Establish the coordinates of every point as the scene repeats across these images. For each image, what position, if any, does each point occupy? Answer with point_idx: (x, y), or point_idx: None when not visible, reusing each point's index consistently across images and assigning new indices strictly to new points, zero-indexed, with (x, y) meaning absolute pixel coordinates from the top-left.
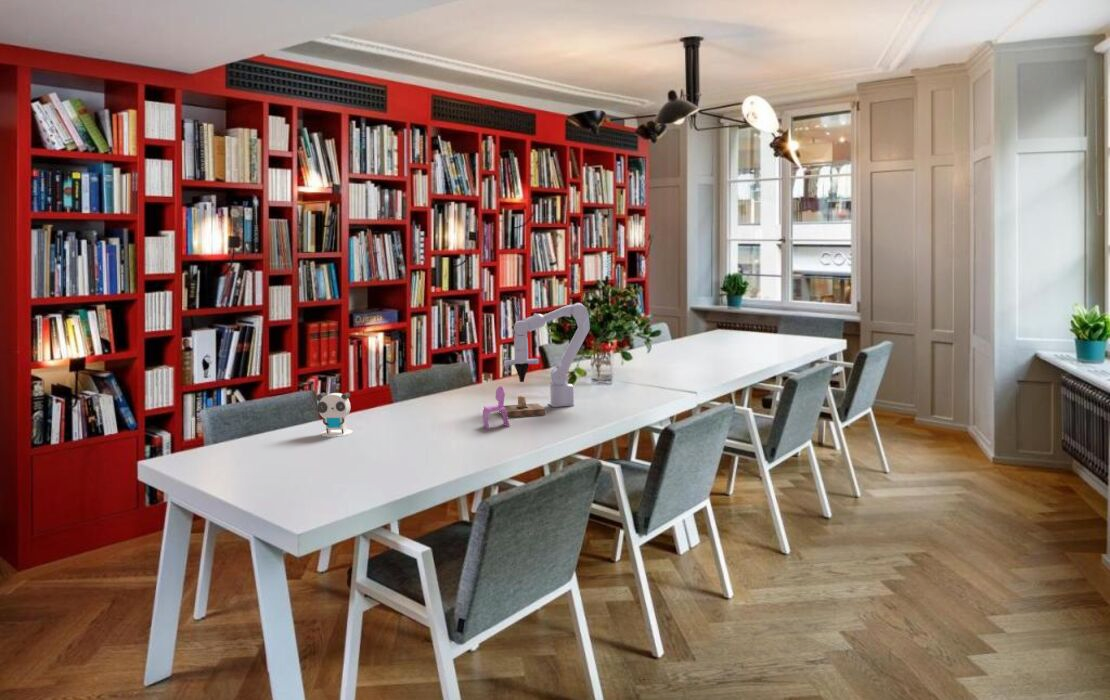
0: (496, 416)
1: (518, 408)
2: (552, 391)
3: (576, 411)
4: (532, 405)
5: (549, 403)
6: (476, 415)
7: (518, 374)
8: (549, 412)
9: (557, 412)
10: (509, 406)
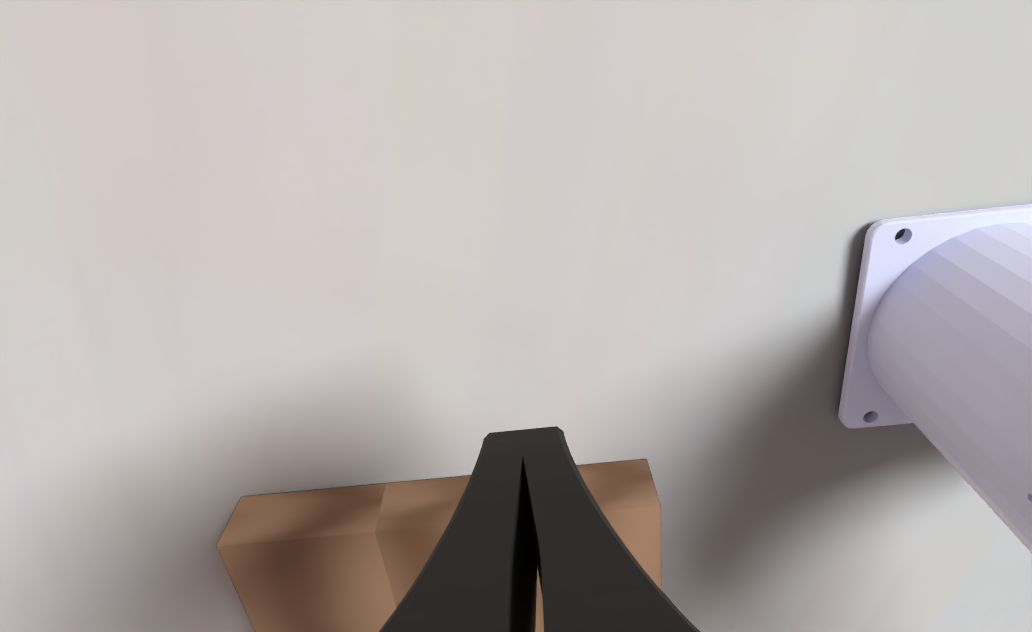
0: (227, 627)
1: None
2: (976, 483)
3: (956, 600)
4: None
5: (873, 284)
6: (27, 566)
7: (447, 558)
8: (715, 589)
9: (783, 601)
10: (331, 581)
